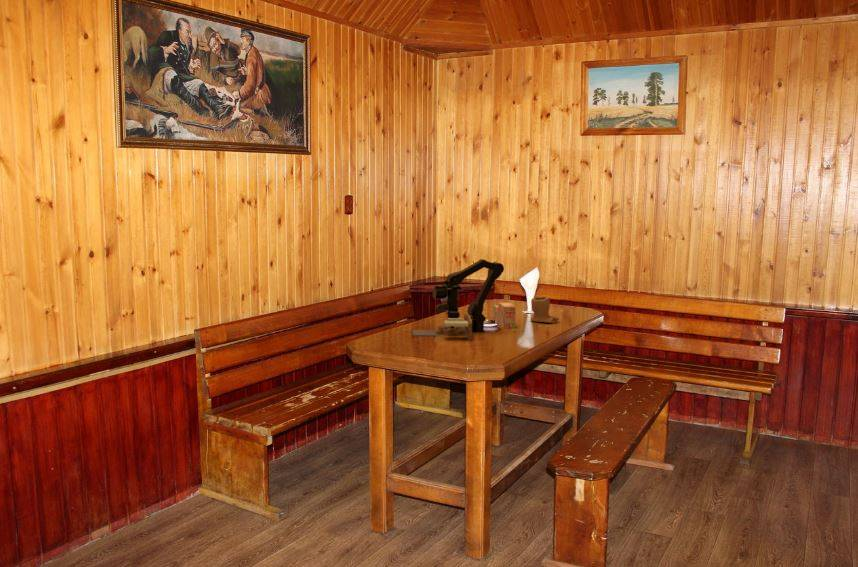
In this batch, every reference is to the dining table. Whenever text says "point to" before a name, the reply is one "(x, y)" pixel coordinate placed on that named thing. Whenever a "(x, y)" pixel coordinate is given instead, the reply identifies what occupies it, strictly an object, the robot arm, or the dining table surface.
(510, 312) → the stack of blocks
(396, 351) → the dining table surface
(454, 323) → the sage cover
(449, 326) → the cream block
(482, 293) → the robot arm
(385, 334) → the dining table surface
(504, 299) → the dining table surface
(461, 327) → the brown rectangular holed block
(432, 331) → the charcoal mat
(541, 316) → the brown boot
